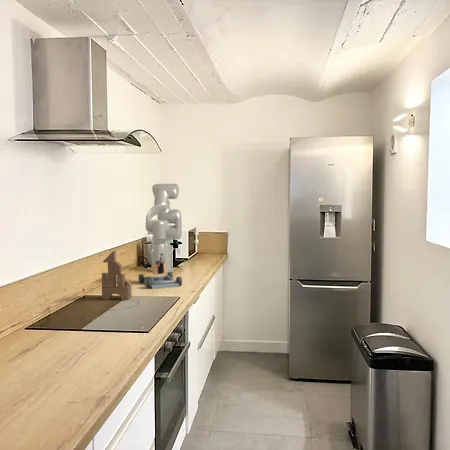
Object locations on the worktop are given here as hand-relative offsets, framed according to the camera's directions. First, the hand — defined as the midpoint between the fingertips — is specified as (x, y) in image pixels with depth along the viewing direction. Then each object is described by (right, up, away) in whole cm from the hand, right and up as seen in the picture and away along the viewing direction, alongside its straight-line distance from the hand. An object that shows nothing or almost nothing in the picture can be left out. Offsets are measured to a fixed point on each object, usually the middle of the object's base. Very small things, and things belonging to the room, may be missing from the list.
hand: (159, 272), depth 278 cm
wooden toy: (-18, -10, -36) cm, 42 cm away
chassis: (0, -7, +1) cm, 7 cm away
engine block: (0, -1, 0) cm, 1 cm away
